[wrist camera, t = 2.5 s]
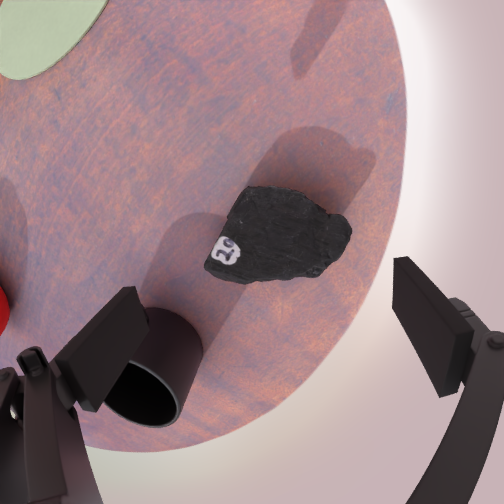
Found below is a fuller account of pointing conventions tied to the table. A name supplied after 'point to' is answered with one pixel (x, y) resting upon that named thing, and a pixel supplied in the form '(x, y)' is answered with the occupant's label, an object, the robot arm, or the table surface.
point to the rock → (276, 238)
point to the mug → (158, 372)
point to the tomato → (3, 311)
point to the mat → (42, 33)
